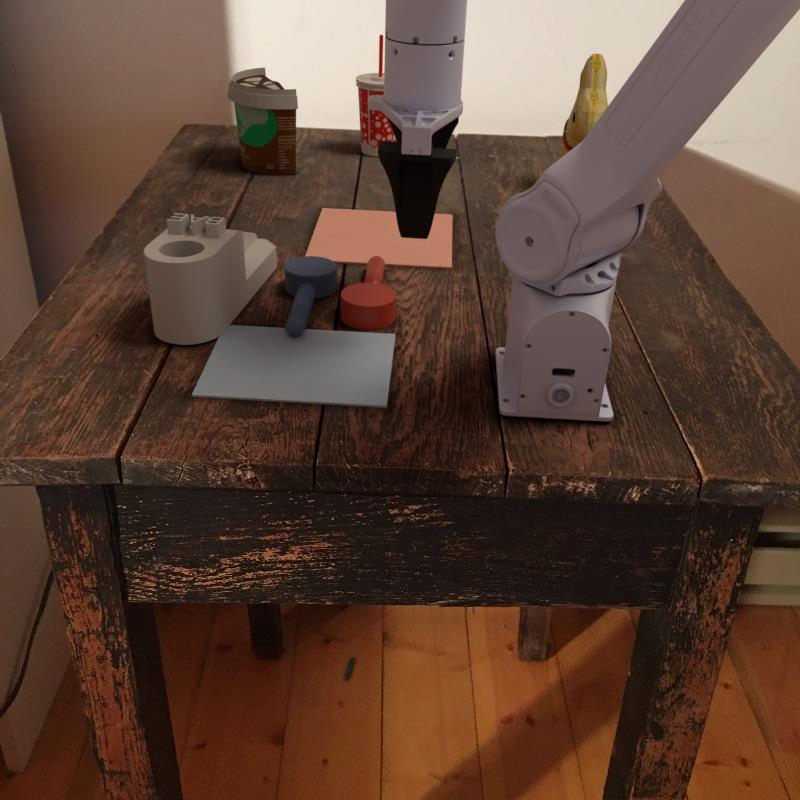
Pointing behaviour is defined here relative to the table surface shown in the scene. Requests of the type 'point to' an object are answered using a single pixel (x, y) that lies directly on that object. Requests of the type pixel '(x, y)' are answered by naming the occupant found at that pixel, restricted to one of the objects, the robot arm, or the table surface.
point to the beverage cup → (371, 121)
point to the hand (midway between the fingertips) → (417, 218)
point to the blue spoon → (307, 288)
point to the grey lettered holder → (203, 277)
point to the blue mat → (299, 367)
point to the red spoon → (369, 300)
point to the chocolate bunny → (586, 103)
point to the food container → (264, 122)
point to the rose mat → (379, 239)
